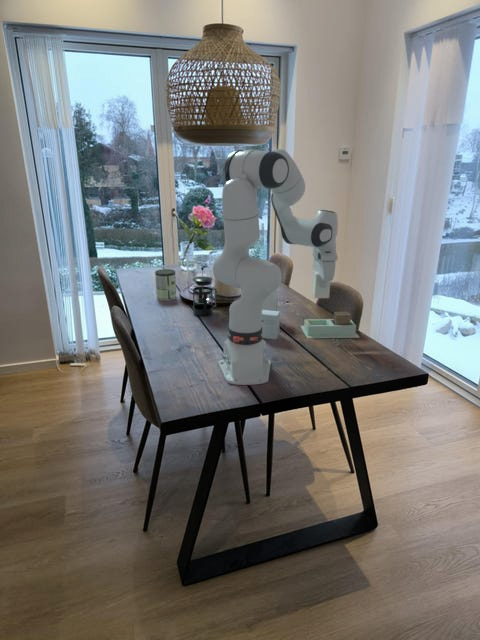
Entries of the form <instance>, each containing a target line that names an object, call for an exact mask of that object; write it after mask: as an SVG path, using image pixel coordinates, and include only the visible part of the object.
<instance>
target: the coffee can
mask: <svg viewBox="0 0 480 640" xmlns="http://www.w3.org/2000/svg"><path fill="white" fill-rule="evenodd" d="M154 275H155V288H156V299H157V300H158V301H165V302H167V301H173V300H175V299H177V285H176V281H177V280H176V270H174V269H169V268H165V269H157V270H156V271H155V272H154Z"/></svg>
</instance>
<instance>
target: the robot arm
mask: <svg viewBox="0 0 480 640" xmlns="http://www.w3.org/2000/svg"><path fill="white" fill-rule="evenodd" d="M223 171H224V178H225V181H226V183H224V185H223V187H222V193H221V194H222V195H221V208H222V209H221V210H222V220H223V230H224V232H223V233H224V245H223V249H222V251H221V253H220V255H218V256H217V258H215V260H214V262H213V267H212V272H213V276H214V278H215V279H216V280H217V281H219V282H220V283H222V284H224V285H226V286H227V287H232V288H238V289H239V290H241V292H240V293H241V296H240V297H239V298H238V299H236V300H234V301H233V302H232V303H231V304H230V306H229V310H228V311H229V315H228V316H229V317H228V318H229V319H228V321H229V322H228V323H229V324H228V327H227V339H226V340H225V341H224V342H223V356H222V359H221V360H219V361H218V362H217V365H218V367H219V369H220V372H221V374H222V375H223V377H224V380H225V381H226V383H228V384H231V385H239V386H241V385H242V386H255V385H261V384H262V385H263V384H266V383H268V382H269V379H270V378H269V377H270V372H271V371H270V370H271V365H272V364H271V363H272V362H271V360H270V359H269V356H268V355H266V353H268V348H266V341H265V340H264V338H262V334H263V331H262V327H261V319H262V309H263V305H264V302H265V300H266V298H267V297H268V296H269V295H270V294H271V293H273V292H274V291H276V292H277V290H278V288H279V287H280V285H281V283H282V279H283V278H282V270H281V268H280V266H279V265H277V264H276V263H274V262H272V261H270V260H267V259H262V258H258V257H252V256H250V248H251V247H253V246H254V245H256V244H257V242H258V241H259V239H260V237H261V235H260V234H261V232H260V219H259V218H260V217H259V210H258V209H259V207H258V201H257V193H258V189H269V190H271V192H272V194H271V196H270V199H271V200H270V202H271V205H272V209H273V211H274V215H275V217H276V218H277V221H278V225H279V227H280V232H281V237H282V239H283V241H284V243H286V244H288V245H297V246H298V245H299V246H304V247H309V248H310V247H312V257H313V262H312V269H313V270H314V272H318V274H319V276H320V277H321V280H322V281H321V288H326V283H327V281H333V280H334V278H335V272H336V264H337V263H336V262H338V258H339V257H338V254H337V241H336V239H337V235H338V228H339V227H338V224H339V223H338V222H339V220H338V214H337V213H336V211H332V210H326V209H320V210H318V211H317V212H316V215H315V217H314V218H313V219H310V220H309V219H302V218H298V217H296V216H294V215H293V212H292V209H291V207H292V206H294V205H296V204H297V203H298V202H299V201H300V200H301V199H302V197H303V196H304V195H305V192H306V182H305V180H304V177H303V175H302V173H301V171H300V169H299V167H298V166H297V164H296V162H295V161H294V159H293V158H292V157H291V155H290V154H289V153H288V151H286V150H285V149H282V148H281V149H280V148H278V149H272V150H271V151H266V150H260V149H245V150H244V149H238V150H235V151H233V152H230V153H229V154H228V156H227V157H226V159H225V161H224V169H223Z"/></svg>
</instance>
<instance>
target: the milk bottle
mask: <svg viewBox="0 0 480 640" xmlns="http://www.w3.org/2000/svg"><path fill="white" fill-rule="evenodd" d="M262 310H270V311H278V294H277V290H276V291H274V292H273V293H271V294H270V295H269V296H268V297H267V298H266V300H265V302H264V305H263V309H262Z"/></svg>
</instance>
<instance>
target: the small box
mask: <svg viewBox="0 0 480 640" xmlns="http://www.w3.org/2000/svg"><path fill="white" fill-rule="evenodd" d="M280 318H281V311H279V310H277V311H270V310H262V319H261V327H262V331H263V334H262V339H269V340H277V339H278V337H279V335H280V322H281V321H280Z"/></svg>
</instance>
